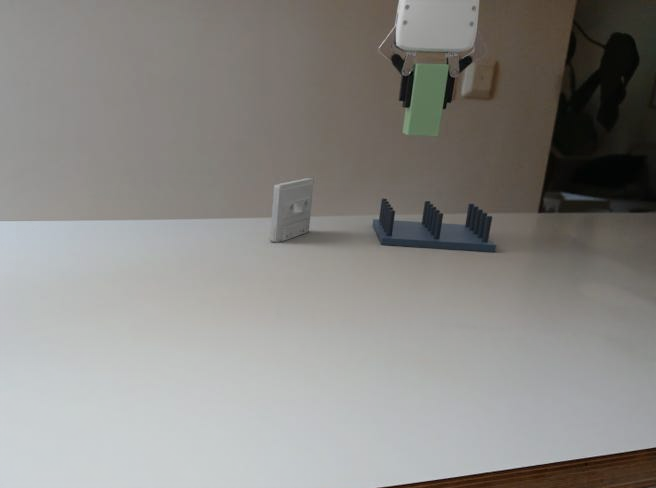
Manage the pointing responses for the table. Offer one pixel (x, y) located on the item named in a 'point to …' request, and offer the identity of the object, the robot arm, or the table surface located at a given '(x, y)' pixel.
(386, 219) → the rack
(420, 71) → the block
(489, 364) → the table surface
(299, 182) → the cassette
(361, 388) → the table surface
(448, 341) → the table surface
